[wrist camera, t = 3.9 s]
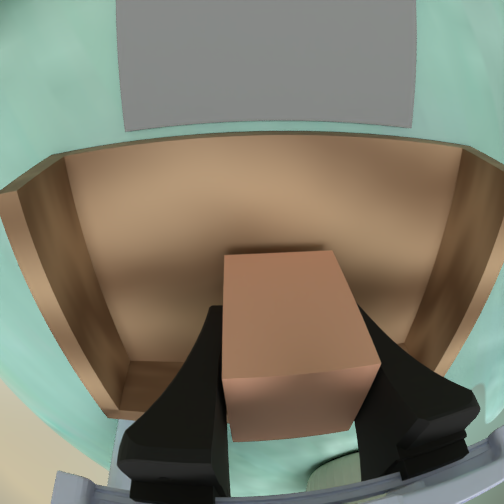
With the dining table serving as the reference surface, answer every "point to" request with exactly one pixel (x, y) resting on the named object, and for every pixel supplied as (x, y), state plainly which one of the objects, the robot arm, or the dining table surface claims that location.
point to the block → (292, 346)
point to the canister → (338, 475)
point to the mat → (266, 61)
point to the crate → (249, 241)
